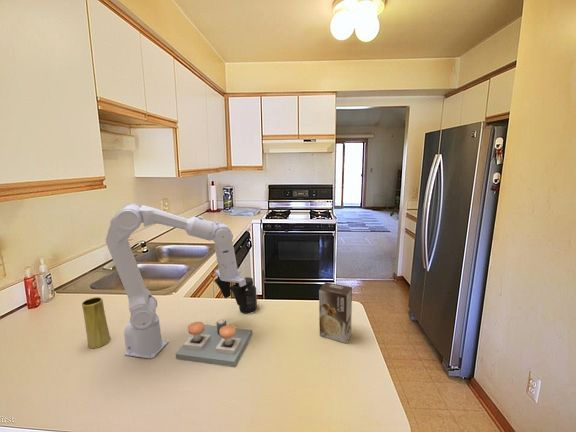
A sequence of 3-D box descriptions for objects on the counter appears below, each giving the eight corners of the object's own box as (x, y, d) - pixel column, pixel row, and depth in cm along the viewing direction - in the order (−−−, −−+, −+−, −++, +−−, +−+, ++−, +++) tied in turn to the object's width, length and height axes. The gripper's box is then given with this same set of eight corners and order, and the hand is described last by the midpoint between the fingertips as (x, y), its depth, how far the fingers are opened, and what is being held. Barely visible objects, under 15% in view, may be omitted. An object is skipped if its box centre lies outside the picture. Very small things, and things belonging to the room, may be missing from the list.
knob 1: (186, 343, 85) (184, 329, 84) (194, 333, 89) (193, 321, 88) (200, 344, 84) (199, 331, 83) (207, 335, 88) (206, 322, 87)
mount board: (175, 358, 83) (174, 349, 82) (201, 328, 97) (200, 320, 96) (234, 366, 79) (234, 357, 78) (252, 334, 93) (251, 326, 93)
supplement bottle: (258, 305, 111) (257, 276, 109) (255, 314, 105) (253, 284, 102) (241, 304, 112) (239, 275, 110) (236, 313, 105) (235, 283, 103)
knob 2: (217, 347, 83) (216, 333, 82) (224, 337, 87) (223, 324, 86) (232, 348, 82) (231, 335, 81) (238, 339, 86) (237, 325, 85)
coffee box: (352, 332, 93) (353, 286, 90) (346, 344, 87) (347, 295, 84) (325, 325, 97) (325, 281, 94) (318, 336, 92) (318, 289, 88)
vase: (99, 349, 87) (91, 307, 84) (82, 347, 88) (74, 305, 85) (115, 337, 93) (108, 297, 90) (99, 335, 94) (92, 295, 91)
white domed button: (215, 334, 91) (214, 323, 90) (219, 329, 94) (219, 318, 93) (224, 335, 90) (223, 324, 89) (228, 330, 93) (227, 318, 92)
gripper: (251, 261, 88) (257, 301, 91) (225, 253, 98) (231, 289, 101) (231, 270, 83) (239, 311, 86) (206, 260, 93) (214, 297, 96)
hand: (234, 300), depth 93 cm, fingers open, 7 cm apart
